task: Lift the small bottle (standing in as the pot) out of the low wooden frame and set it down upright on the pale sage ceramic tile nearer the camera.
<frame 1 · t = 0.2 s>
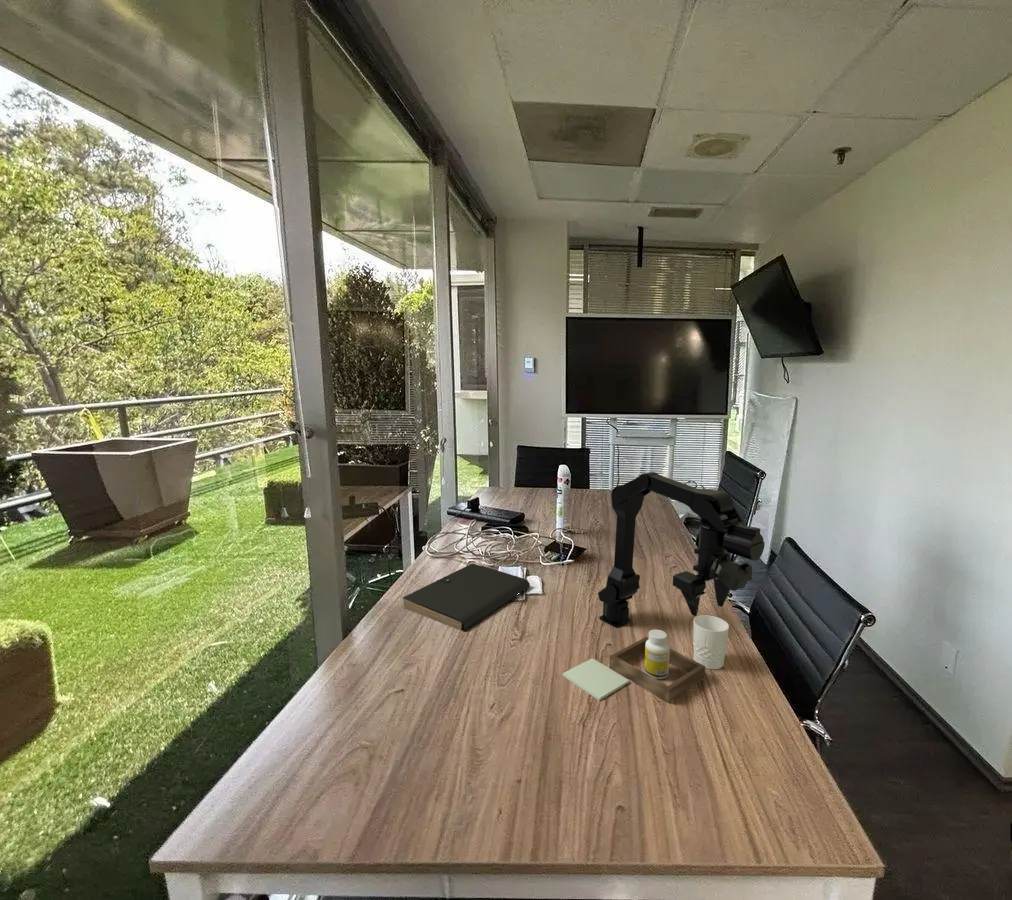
hand: (707, 610, 113), 14 cm above the table, fingers open, 9 cm apart
white cup: (708, 662, 117), on the table
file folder: (468, 600, 151), on the table
wooden frame: (656, 672, 113), on the table
supplement bottle: (656, 673, 113), resting in wooden frame
sage tile: (595, 679, 110), on the table
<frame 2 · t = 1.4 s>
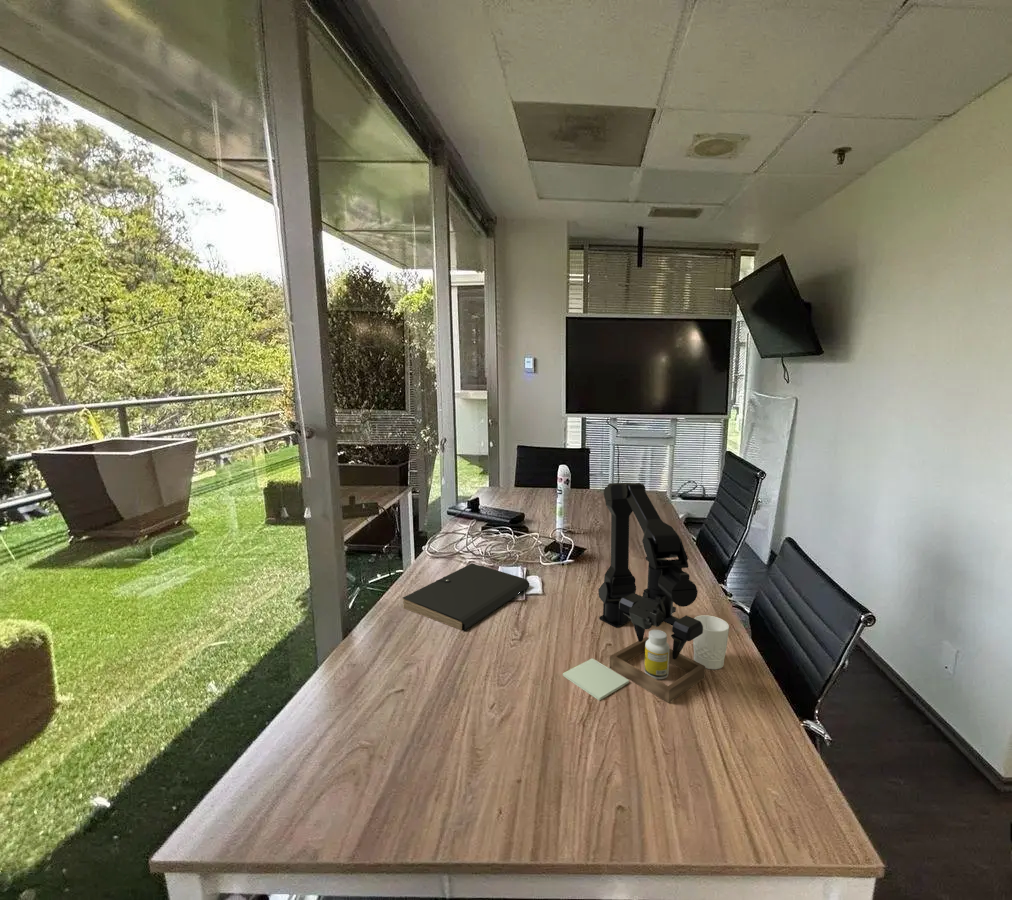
hand: (657, 649, 112), 6 cm above the table, fingers open, 9 cm apart
nothing on the table moved.
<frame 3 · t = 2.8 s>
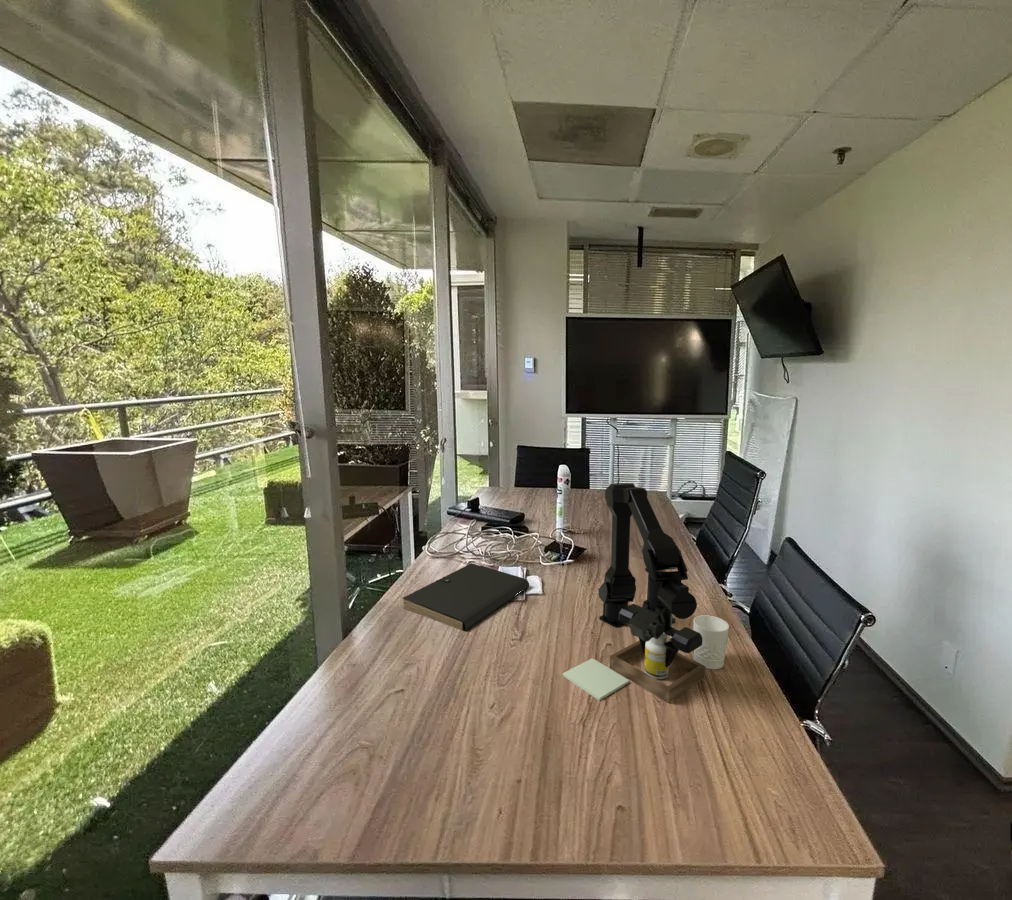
hand: (656, 660, 112), 3 cm above the table, fingers closed on supplement bottle, 5 cm apart
supplement bottle: (656, 673, 113), resting in wooden frame, touching gripper
everything else where it was.
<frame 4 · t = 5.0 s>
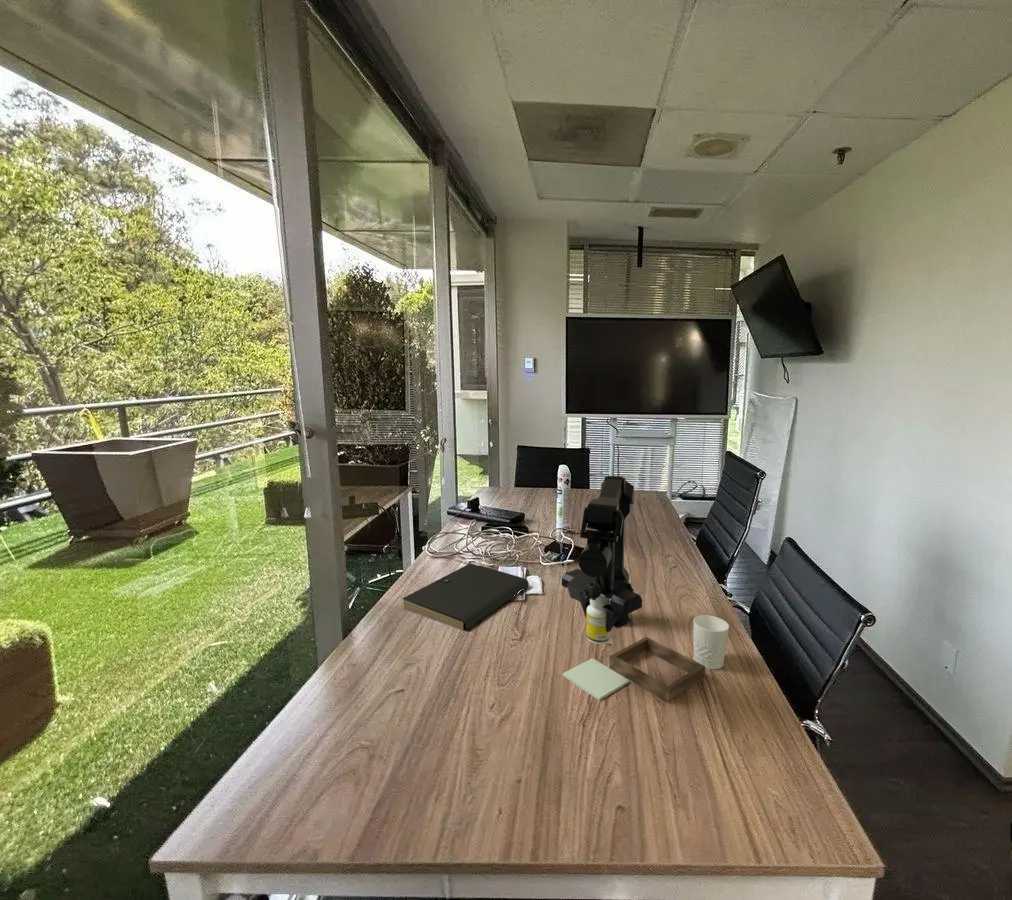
hand: (598, 626, 108), 13 cm above the table, fingers closed on supplement bottle, 5 cm apart
supplement bottle: (598, 639, 109), point 10 cm above the table, touching gripper
everything else where it was.
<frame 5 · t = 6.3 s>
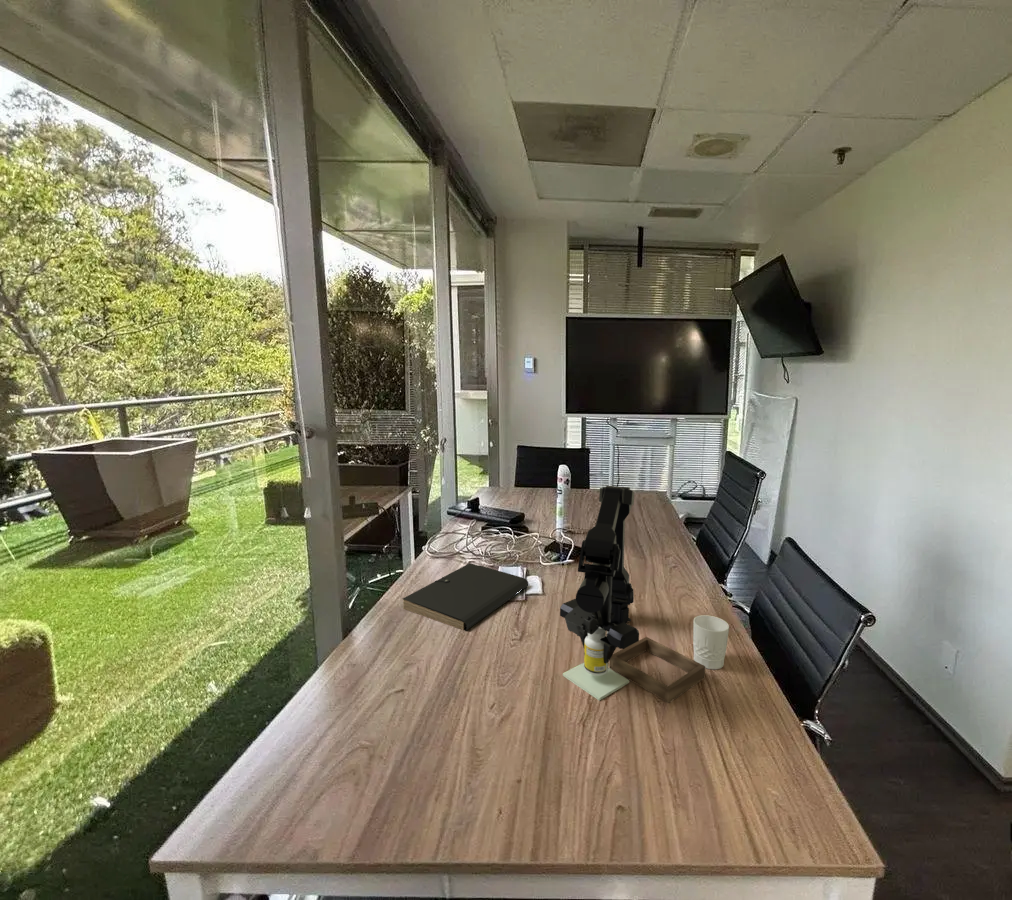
hand: (596, 656, 110), 5 cm above the table, fingers closed on supplement bottle, 5 cm apart
supplement bottle: (595, 670, 110), point 2 cm above the table, touching gripper
everything else where it was.
when the fingers open (4 cm above the table, at t = 7.4 s): supplement bottle stays where it is, resting on sage tile.
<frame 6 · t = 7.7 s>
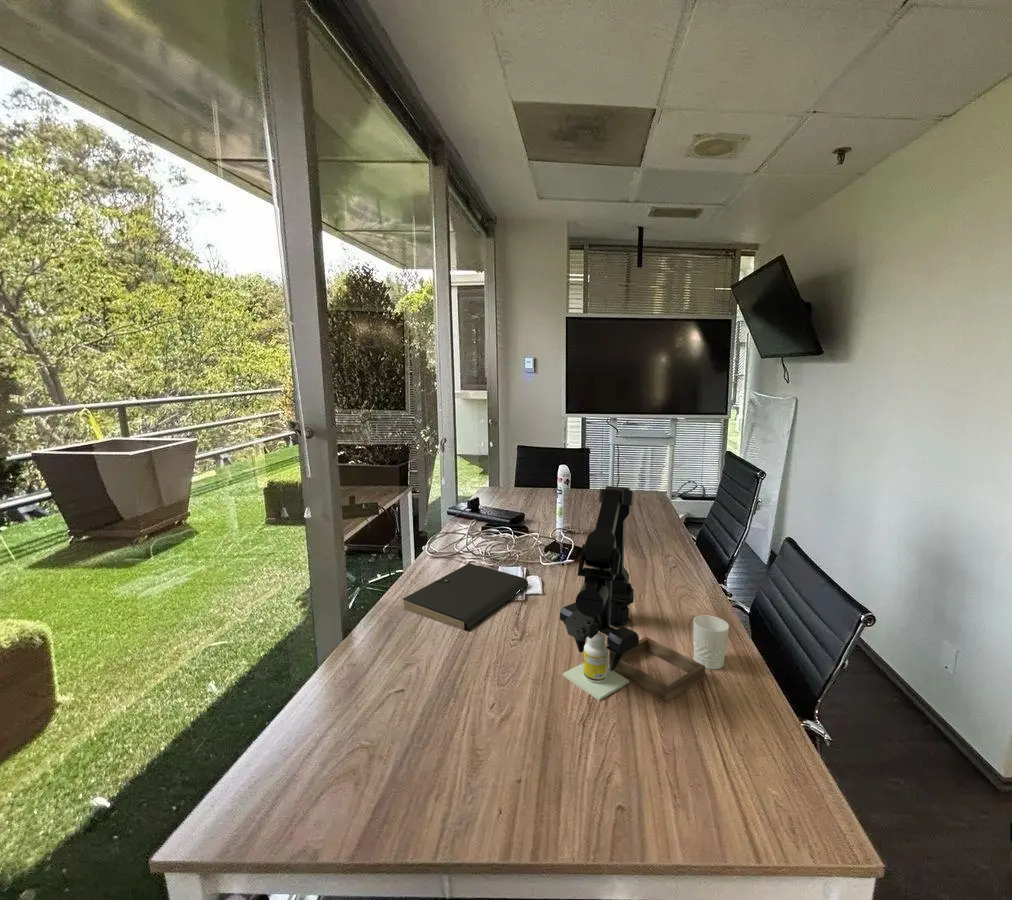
hand: (596, 660, 110), 4 cm above the table, fingers open, 9 cm apart
supplement bottle: (595, 677, 110), resting on sage tile
everything else where it was.
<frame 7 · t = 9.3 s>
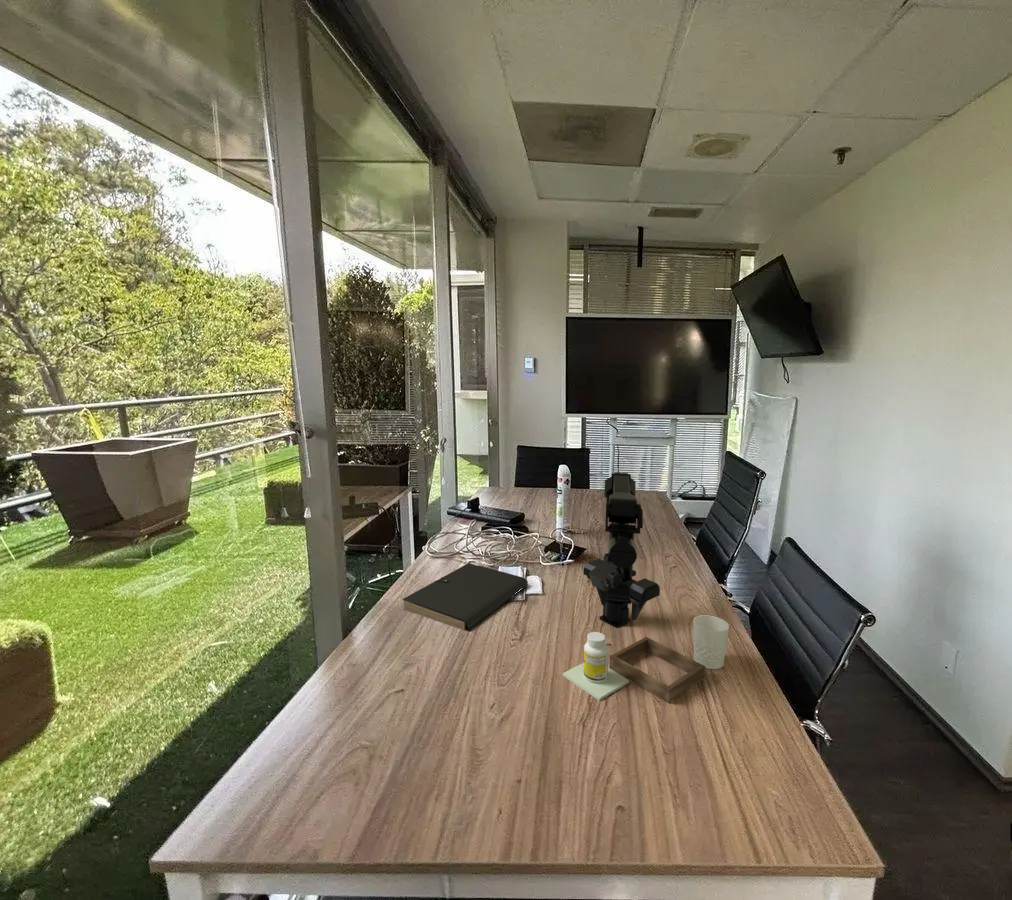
hand: (618, 612, 116), 12 cm above the table, fingers open, 9 cm apart
nothing on the table moved.
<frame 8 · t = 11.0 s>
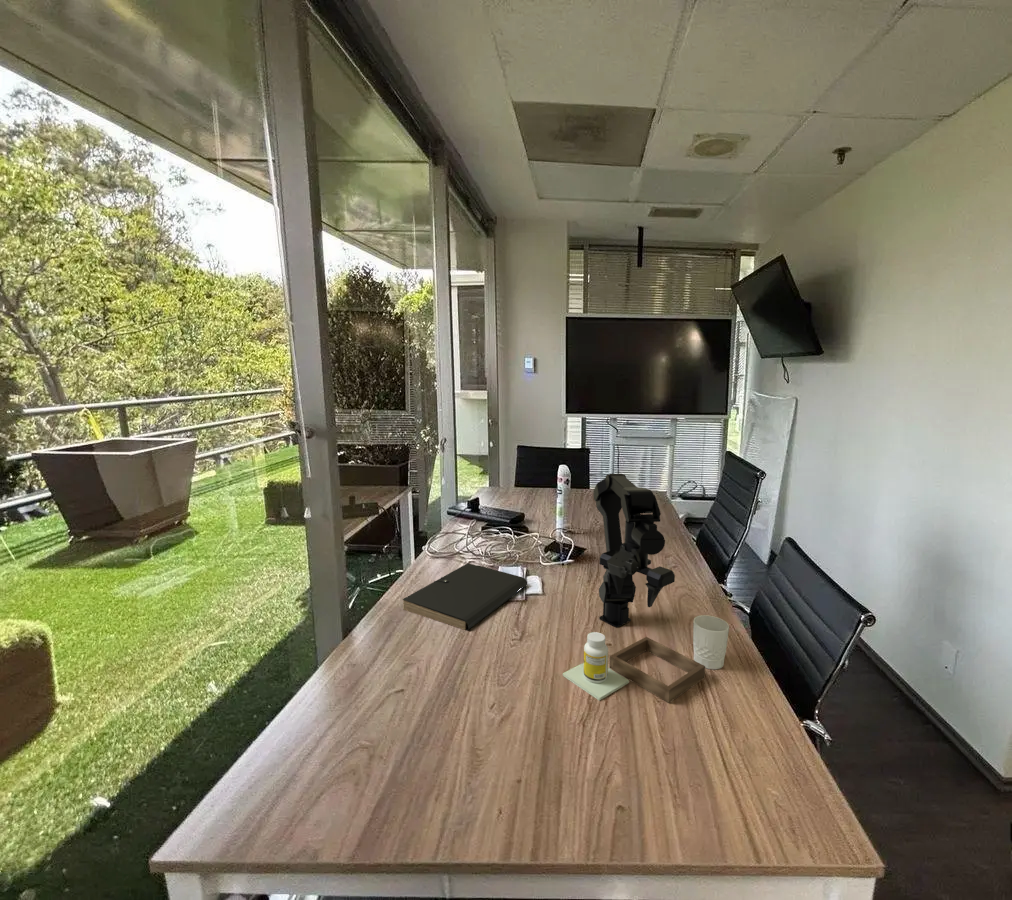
hand: (633, 600, 121), 13 cm above the table, fingers open, 9 cm apart
nothing on the table moved.
at the end: supplement bottle inside the target area on the sage tile (0.1 cm from its centre), point 0.4 cm above the sage tile's base; supplement bottle tilted 0°; the gripper is holding nothing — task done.
